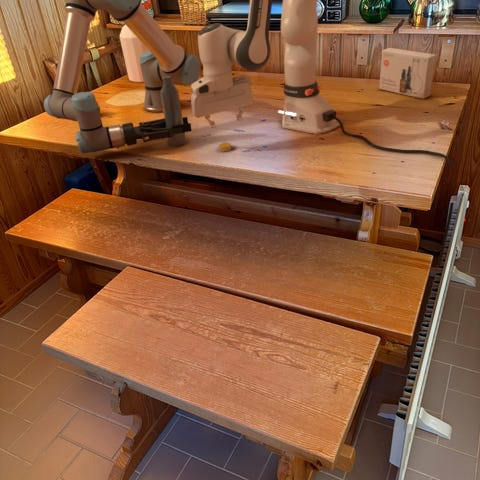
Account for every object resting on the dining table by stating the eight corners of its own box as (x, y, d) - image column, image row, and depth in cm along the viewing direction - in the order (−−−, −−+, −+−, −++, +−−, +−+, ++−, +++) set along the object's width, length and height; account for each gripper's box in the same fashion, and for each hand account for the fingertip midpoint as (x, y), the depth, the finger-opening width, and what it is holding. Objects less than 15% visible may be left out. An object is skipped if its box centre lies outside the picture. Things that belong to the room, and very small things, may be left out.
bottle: (168, 146, 163) (157, 80, 150) (169, 140, 168) (158, 75, 155) (186, 144, 163) (175, 78, 150) (186, 138, 168) (176, 73, 155)
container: (160, 81, 233) (149, 21, 217) (121, 82, 238) (108, 23, 222) (174, 69, 249) (165, 13, 233) (138, 70, 254) (126, 15, 238)
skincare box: (377, 89, 194) (381, 50, 185) (385, 86, 197) (389, 47, 188) (423, 99, 180) (429, 56, 171) (430, 95, 183) (437, 53, 174)
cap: (232, 150, 156) (232, 145, 155) (221, 152, 155) (220, 148, 154) (229, 145, 159) (229, 141, 158) (218, 147, 159) (217, 143, 158)
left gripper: (124, 135, 169) (186, 125, 173) (127, 155, 154) (195, 143, 157) (119, 116, 165) (183, 105, 169) (122, 134, 149) (192, 122, 153)
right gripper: (247, 71, 149) (252, 113, 157) (186, 86, 145) (195, 128, 153) (253, 75, 144) (259, 118, 151) (190, 91, 140) (199, 134, 148)
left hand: (189, 123), depth 163 cm, fingers closed on bottle, 6 cm apart
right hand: (226, 123), depth 152 cm, fingers open, 8 cm apart
